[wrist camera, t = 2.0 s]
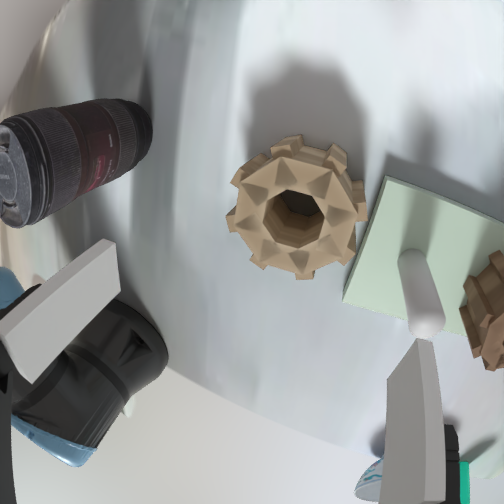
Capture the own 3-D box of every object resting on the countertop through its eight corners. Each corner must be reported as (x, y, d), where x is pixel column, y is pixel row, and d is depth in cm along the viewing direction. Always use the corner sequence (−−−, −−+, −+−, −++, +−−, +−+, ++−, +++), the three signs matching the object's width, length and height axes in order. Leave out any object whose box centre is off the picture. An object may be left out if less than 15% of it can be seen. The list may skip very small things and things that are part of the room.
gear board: (342, 292, 29) (334, 366, 21) (384, 174, 23) (404, 219, 15) (500, 336, 25) (522, 401, 17) (553, 249, 19) (597, 304, 11)
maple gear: (242, 227, 29) (218, 259, 24) (259, 125, 24) (235, 133, 19) (343, 257, 27) (340, 296, 22) (375, 155, 22) (384, 172, 17)
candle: (459, 460, 39) (459, 510, 29) (473, 462, 38) (474, 510, 28) (437, 470, 42) (435, 518, 32) (452, 473, 42) (452, 518, 32)
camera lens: (163, 170, 28) (43, 238, 16) (104, 171, 30) (-6, 228, 18) (157, 88, 24) (19, 109, 12) (96, 100, 26) (-27, 132, 14)
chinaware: (392, 474, 46) (389, 505, 39) (342, 457, 45) (336, 492, 39) (452, 449, 37) (453, 484, 31) (406, 429, 37) (405, 472, 30)
